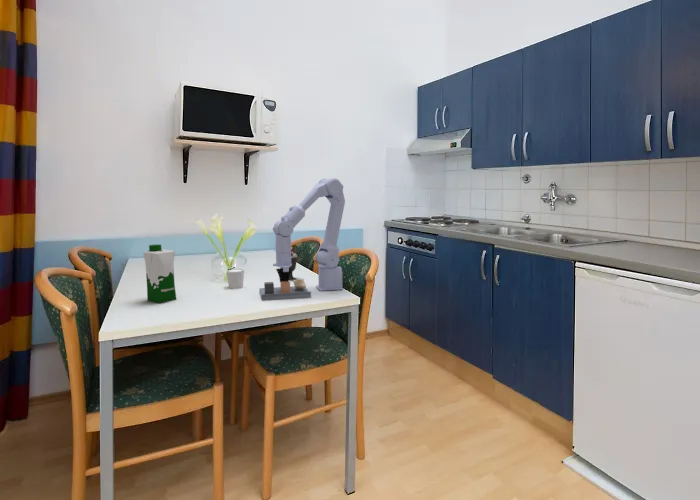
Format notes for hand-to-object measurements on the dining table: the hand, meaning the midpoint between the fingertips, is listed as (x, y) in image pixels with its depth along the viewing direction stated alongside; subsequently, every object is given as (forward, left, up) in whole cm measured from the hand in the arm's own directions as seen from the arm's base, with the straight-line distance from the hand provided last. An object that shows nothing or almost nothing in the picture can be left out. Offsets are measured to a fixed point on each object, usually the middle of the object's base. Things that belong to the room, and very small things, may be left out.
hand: (284, 287), depth 166 cm
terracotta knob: (0, +4, -1) cm, 4 cm away
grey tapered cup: (+18, -17, -3) cm, 25 cm away
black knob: (+6, +4, -1) cm, 7 cm away
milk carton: (+44, -2, -3) cm, 44 cm away
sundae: (-6, -27, -3) cm, 28 cm away
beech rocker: (-6, 0, +1) cm, 6 cm away
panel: (0, +1, -3) cm, 3 cm away
